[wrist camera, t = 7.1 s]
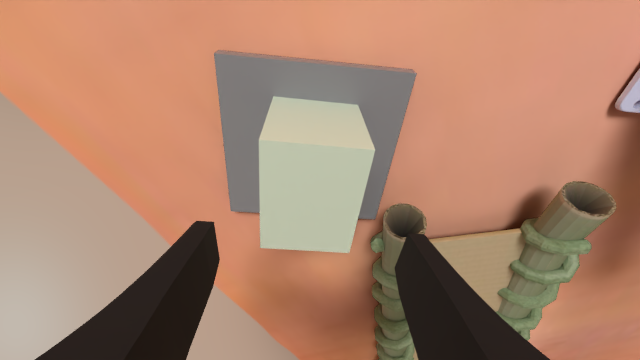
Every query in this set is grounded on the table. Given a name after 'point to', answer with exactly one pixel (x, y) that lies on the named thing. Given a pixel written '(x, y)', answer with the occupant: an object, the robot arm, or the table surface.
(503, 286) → the stretcher
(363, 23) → the table surface
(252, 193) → the baseplate
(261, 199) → the sage brick
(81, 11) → the table surface
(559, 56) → the table surface
